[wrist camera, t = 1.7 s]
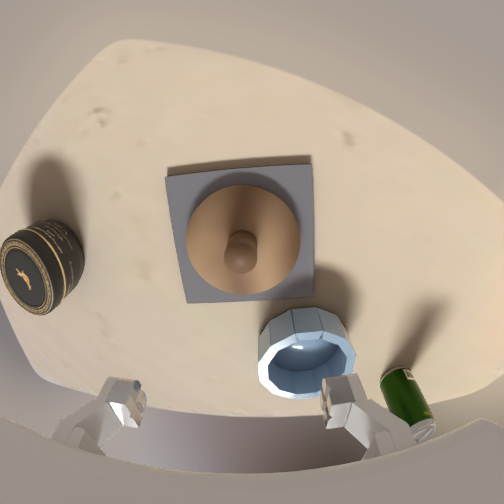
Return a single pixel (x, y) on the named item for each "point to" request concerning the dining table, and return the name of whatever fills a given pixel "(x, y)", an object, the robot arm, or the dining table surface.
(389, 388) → the beer can
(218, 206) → the lid
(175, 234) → the mat
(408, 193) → the dining table surface
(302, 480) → the robot arm
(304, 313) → the bowl
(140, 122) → the dining table surface
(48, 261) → the jar
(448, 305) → the dining table surface
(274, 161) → the dining table surface
